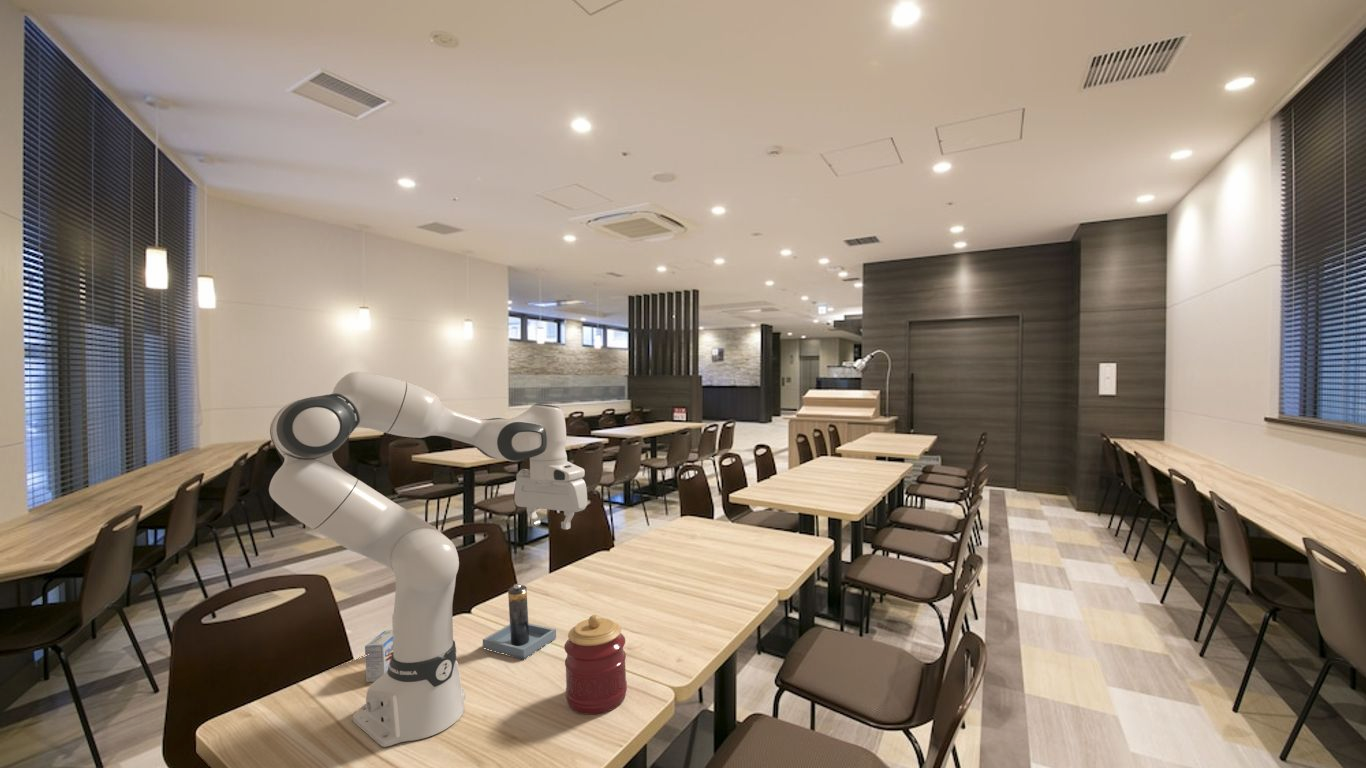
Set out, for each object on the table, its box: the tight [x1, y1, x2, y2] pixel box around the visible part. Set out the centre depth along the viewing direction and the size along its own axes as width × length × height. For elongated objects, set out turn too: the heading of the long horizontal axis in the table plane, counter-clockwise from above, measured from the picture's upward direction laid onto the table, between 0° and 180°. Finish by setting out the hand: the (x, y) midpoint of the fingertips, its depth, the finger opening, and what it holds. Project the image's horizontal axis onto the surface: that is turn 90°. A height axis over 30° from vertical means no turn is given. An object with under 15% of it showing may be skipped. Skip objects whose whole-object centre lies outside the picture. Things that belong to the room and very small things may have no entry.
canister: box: [563, 614, 628, 715], centre depth 114 cm, size 13×13×18 cm
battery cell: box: [507, 583, 529, 646], centre depth 139 cm, size 5×5×15 cm
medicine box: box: [364, 629, 393, 683], centre depth 127 cm, size 8×4×9 cm, turn 179°
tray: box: [482, 622, 557, 661], centre depth 139 cm, size 14×12×2 cm
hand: (550, 527), depth 129 cm, fingers open, 8 cm apart
